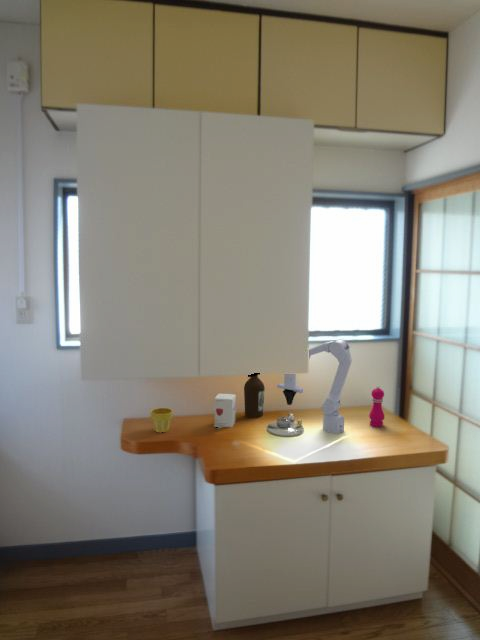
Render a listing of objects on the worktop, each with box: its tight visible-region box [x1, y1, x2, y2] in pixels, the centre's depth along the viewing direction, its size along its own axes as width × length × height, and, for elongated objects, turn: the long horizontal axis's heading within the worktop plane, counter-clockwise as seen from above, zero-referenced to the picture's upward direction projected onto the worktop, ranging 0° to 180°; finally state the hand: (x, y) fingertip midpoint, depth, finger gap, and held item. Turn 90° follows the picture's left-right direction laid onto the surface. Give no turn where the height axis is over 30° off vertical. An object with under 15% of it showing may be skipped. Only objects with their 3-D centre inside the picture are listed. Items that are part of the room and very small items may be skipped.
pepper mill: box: [368, 385, 385, 428], centre depth 229 cm, size 7×7×20 cm
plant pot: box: [150, 407, 174, 433], centre depth 219 cm, size 10×10×10 cm
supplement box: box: [213, 393, 237, 429], centre depth 226 cm, size 9×9×15 cm
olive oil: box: [243, 374, 266, 419], centre depth 239 cm, size 11×11×25 cm
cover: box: [276, 416, 291, 428], centre depth 221 cm, size 6×6×4 cm
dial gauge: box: [286, 413, 295, 423], centre depth 230 cm, size 4×6×5 cm, turn 136°
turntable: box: [267, 418, 305, 438], centre depth 219 cm, size 17×17×4 cm
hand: (289, 404), depth 229 cm, fingers closed
